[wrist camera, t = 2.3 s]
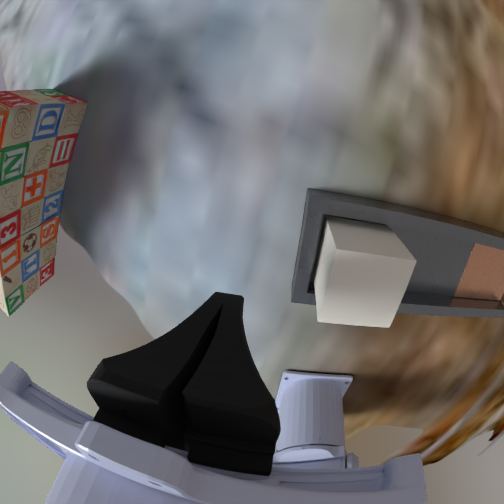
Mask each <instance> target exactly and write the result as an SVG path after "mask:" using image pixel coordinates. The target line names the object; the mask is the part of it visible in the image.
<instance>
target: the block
mask: <svg viewBox="0 0 504 504" xmlns="http://www.w3.org/2000/svg"><path fill="white" fill-rule="evenodd" d="M415 264H416V259H415V258H414V257H413V255H412V254H411V253H410V252H409V250H408V249H407V248H406V247H405V245H404V244H403V243H402V242H401V240H400V239H399V238H398V237H397V235H396V234H395V233H394V232H393V231H392V229H391V228H390V227H389V226H384V225H379V224H373V223H367V222H361V221H355V220H349V219H343V218H337V217H330V216H325V221H324V227H323V232H322V237H321V242H320V247H319V252H318V257H317V262H316V267H315V271H314V276H313V277H314V286H315V296H316V307H317V319H318V322H325V323H336V324H346V325H358V326H372V327H387V328H389V327H390V325H391V323H392V321H393V319H394V316H395V314H396V312H397V310H398V307H399V305H400V303H401V300H402V298H403V296H404V293H405V291H406V288H407V286H408V283H409V280H410V278H411V275H412V272H413V270H414V267H415Z"/></svg>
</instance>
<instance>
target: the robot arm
mask: <svg viewBox="0 0 504 504" xmlns="http://www.w3.org/2000/svg"><path fill="white" fill-rule="evenodd" d="M243 304H244V298H243V297H242V296H240V295H234V294H227V293H221V292H215V293H214V294H213V295H212V296H211V297H210V298H209V299H208V300H207V301H206V302H205V303H204V304H203V305H202V306H200V307H199V308H198V309H197V310H196V311H195V312H194V313H193V314H191V315H190V316H189V317H188V318H187V319H185V320H184V321H183V322H182V323H180V324H179V325H178V326H176V327H175V328H173V329H172V330H170V331H169V332H167V333H166V334H164V335H163V336H161V337H159V338H157V339H155V340H153V341H152V342H150V343H148V344H146V345H143V346H141V347H139V348H136V349H134V350H131V351H128V352H126V353H123V354H120V355H116V356H113V357H109V358H105V359H103V360H102V361H101V362H100V364H99V365H98V366H97V368H96V369H95V371H94V372H93V374H92V375H91V377H90V378H89V380H88V381H87V388H88V390H89V392H90V394H91V396H92V397H93V399H94V400H95V402H96V403H97V405H98V406H99V410H98V412H97V413H96V415H95V417H92V416H90V415H88V414H86V413H84V412H82V411H80V410H79V409H77V408H75V407H73V406H71V405H69V404H68V403H66V402H64V401H62V400H60V399H59V398H57V397H55V396H54V395H52V394H50V393H49V392H47V391H46V390H44V389H43V388H41V387H39V386H38V385H36V384H35V383H33V382H32V381H31V379H30V377H29V376H28V374H27V373H26V372H25V371H24V370H23V369H22V368H20V367H19V366H18V365H16V364H15V363H14V362H12V361H11V362H10V363H9V364H8V365H7V366H6V368H5V369H4V370H3V371H2V373H1V374H0V407H1V408H2V409H3V410H4V411H5V413H6V414H7V415H8V416H9V417H10V418H11V419H12V420H13V421H15V422H16V423H17V424H18V425H20V427H22V428H23V429H24V430H25V431H26V432H28V433H29V434H30V435H32V436H33V437H34V438H35V439H37V440H38V441H39V442H40V443H42V444H43V445H45V446H46V447H47V448H49V449H50V450H51V451H53V452H54V453H56V454H57V455H58V456H60V457H61V458H63V459H64V460H65V462H64V463H63V465H62V467H61V469H60V471H59V473H58V475H57V477H56V479H55V481H54V483H53V485H52V488H51V490H50V492H49V494H48V496H47V498H46V500H45V503H44V504H425V503H426V502H427V495H426V486H425V478H424V471H423V465H422V459H421V454H420V453H417V454H412V455H406V456H400V457H396V458H393V459H391V460H389V461H388V462H387V463H386V464H385V465H380V466H371V467H360V468H359V460H358V457H357V456H356V455H354V453H348V454H346V449H345V431H344V416H343V403H342V398H343V396H344V394H345V393H346V391H347V389H348V387H349V386H350V384H351V382H352V380H353V377H352V376H350V375H332V374H317V373H305V372H295V371H285V372H283V375H282V379H281V383H280V386H279V390H278V393H277V397H276V400H274V398H273V397H272V395H271V394H270V392H269V391H268V389H267V388H266V386H265V384H264V382H263V380H262V379H261V377H260V375H259V372H258V370H257V368H256V366H255V364H254V361H253V359H252V356H251V353H250V350H249V347H248V344H247V340H246V336H245V331H244V325H243V318H242V317H243ZM275 445H276V450H275Z"/></svg>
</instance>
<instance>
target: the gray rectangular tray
mask: <svg viewBox="0 0 504 504" xmlns="http://www.w3.org/2000/svg"><path fill="white" fill-rule="evenodd" d="M325 216H330V217H337V218H343V219H349V220H355V221H361V222H367V223H373V224H379V225H384V226H389V227H390V228H391V229H392V231H393V232H394V233H395V234H396V235H397V237H398V238H399V239H400V240H401V242H402V243H403V244H404V245H405V247H406V248H407V249H408V250H409V252H410V253H411V254H412V255H413V257H414V258H415V259H416V264H415V267H414V270H413V272H412V275H411V278H410V280H409V283H408V286H407V288H406V291H405V293H404V296H403V298H402V300H401V303H400V305H399V307H398V310H397V312H396V313H405V314H420V315H437V316H459V317H499V318H503V316H504V306H503V304H502V303H501V302H500V301H499V300H501V298H502V296H503V294H504V233H503V232H500V231H497V230H494V229H490V228H487V227H484V226H480V225H477V224H474V223H470V222H467V221H463V220H459V219H456V218H452V217H448V216H444V215H440V214H436V213H432V212H428V211H424V210H420V209H416V208H411V207H407V206H402V205H398V204H393V203H388V202H383V201H378V200H373V199H368V198H362V197H357V196H351V195H346V194H340V193H334V192H327V191H321V190H314V189H308V188H307V195H306V202H305V209H304V215H303V222H302V228H301V235H300V241H299V247H298V253H297V259H296V264H295V270H294V276H293V281H292V294H291V302H294V303H302V304H311V305H316V296H315V286H314V277H313V276H314V271H315V267H316V262H317V257H318V252H319V247H320V242H321V237H322V232H323V227H324V221H325Z"/></svg>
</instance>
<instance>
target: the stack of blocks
mask: <svg viewBox="0 0 504 504" xmlns="http://www.w3.org/2000/svg"><path fill="white" fill-rule="evenodd" d="M87 105H88V103H87V102H85V101H82V100H80V99H78V98H75V97H72V96H70V95H66V94H64V93H61V92H59V91H56V90H54V89H35V90H17V91H2V92H0V308H1V309H2V310H3V311H4V312H5V313H6V314H7V315H8V316H10V315H11V314H13V312H15V311H16V310H17V308H19V307H20V306H21V305H22V304H23V303H24V302H25V300H26V299H27V298H28V297H29V296H31V295H32V294H33V293H34V292H35V291H36V290H37V289H38V288H39V287H40V286H41V285H42V284H44V283H45V282H46V281H47V280H49V279H50V278H51V277H52V276H53V275H54V259H55V258H54V257H55V253H56V242H57V233H58V225H59V218H60V215H59V213H60V208H61V202H62V196H63V188H64V185H65V180H66V175H67V170H68V166H69V162H70V160H71V156H72V152H73V149H74V145H75V142H76V138H77V135H78V132H79V129H80V126H81V123H82V120H83V117H84V114H85V111H86V108H87Z"/></svg>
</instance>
